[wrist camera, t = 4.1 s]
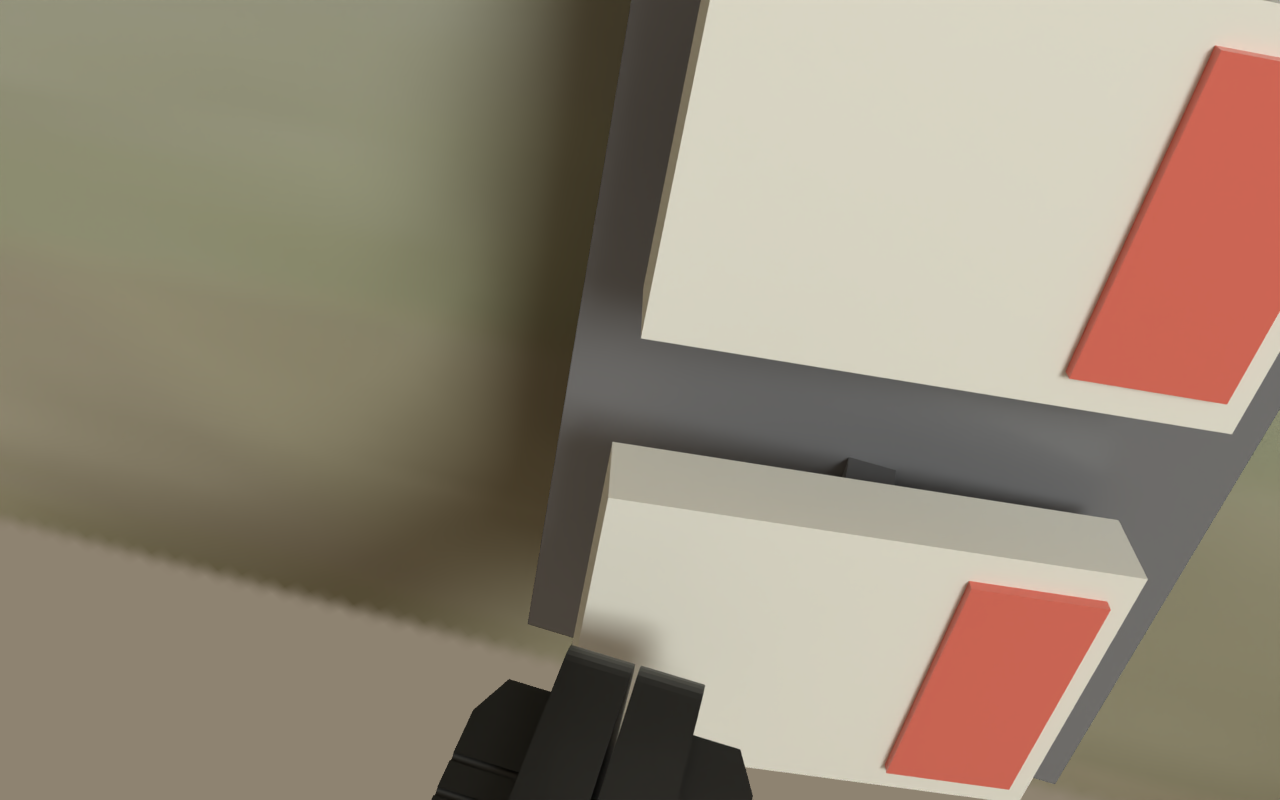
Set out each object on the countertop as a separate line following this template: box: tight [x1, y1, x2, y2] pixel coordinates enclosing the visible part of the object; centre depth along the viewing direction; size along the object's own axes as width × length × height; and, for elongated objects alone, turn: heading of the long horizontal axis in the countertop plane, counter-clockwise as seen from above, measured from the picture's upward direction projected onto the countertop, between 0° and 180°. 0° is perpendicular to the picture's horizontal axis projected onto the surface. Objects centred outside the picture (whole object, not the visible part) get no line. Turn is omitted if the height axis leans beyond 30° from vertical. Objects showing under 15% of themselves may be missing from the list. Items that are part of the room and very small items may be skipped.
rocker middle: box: [641, 0, 1280, 434], centre depth 10 cm, size 6×4×1 cm, turn 80°
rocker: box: [572, 442, 1148, 800], centre depth 14 cm, size 6×4×1 cm, turn 80°
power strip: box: [528, 0, 1280, 784], centre depth 13 cm, size 8×18×5 cm, turn 169°
